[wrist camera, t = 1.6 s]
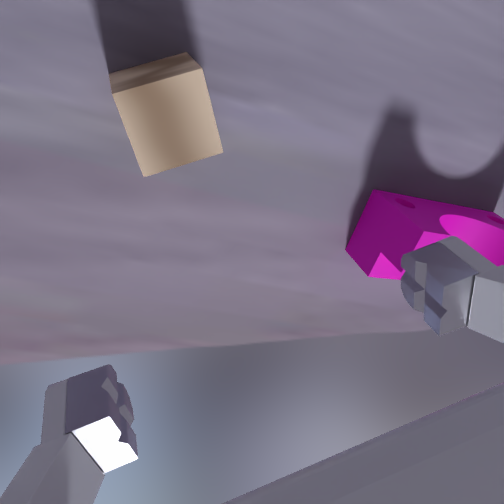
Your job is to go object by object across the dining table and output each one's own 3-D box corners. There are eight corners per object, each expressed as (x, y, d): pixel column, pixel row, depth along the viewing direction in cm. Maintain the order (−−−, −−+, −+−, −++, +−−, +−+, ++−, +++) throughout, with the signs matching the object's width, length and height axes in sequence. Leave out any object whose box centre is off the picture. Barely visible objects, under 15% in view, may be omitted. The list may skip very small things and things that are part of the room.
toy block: (344, 248, 41) (387, 298, 35) (372, 188, 38) (424, 231, 32) (459, 262, 47) (513, 307, 41) (491, 211, 44) (554, 251, 38)
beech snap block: (186, 51, 28) (202, 68, 24) (206, 126, 31) (223, 152, 27) (108, 73, 27) (112, 93, 23) (136, 147, 30) (143, 177, 26)
